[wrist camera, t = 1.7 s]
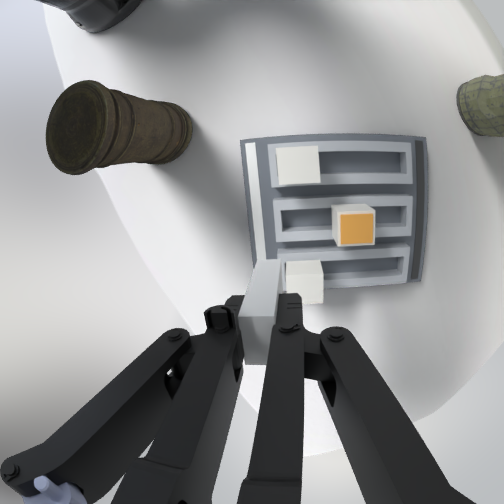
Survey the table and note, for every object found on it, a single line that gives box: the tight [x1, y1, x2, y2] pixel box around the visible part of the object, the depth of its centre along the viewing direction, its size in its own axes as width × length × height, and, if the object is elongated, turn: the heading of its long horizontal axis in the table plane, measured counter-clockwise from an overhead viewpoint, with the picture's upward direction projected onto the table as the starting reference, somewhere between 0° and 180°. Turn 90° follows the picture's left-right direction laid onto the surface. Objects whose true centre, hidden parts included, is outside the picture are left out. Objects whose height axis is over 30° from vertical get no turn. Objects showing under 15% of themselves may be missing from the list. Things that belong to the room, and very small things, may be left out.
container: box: [46, 80, 192, 175], centre depth 25 cm, size 9×9×18 cm
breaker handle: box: [331, 204, 375, 247], centre depth 29 cm, size 4×4×7 cm
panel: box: [240, 134, 428, 304], centre depth 30 cm, size 20×24×9 cm
